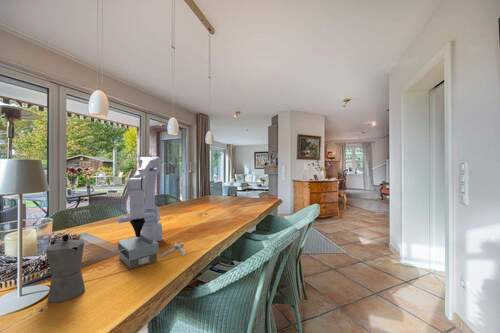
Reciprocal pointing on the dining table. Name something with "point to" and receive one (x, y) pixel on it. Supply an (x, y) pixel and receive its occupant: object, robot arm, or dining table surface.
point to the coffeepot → (65, 269)
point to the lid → (139, 246)
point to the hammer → (174, 249)
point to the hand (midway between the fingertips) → (137, 236)
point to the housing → (136, 262)
